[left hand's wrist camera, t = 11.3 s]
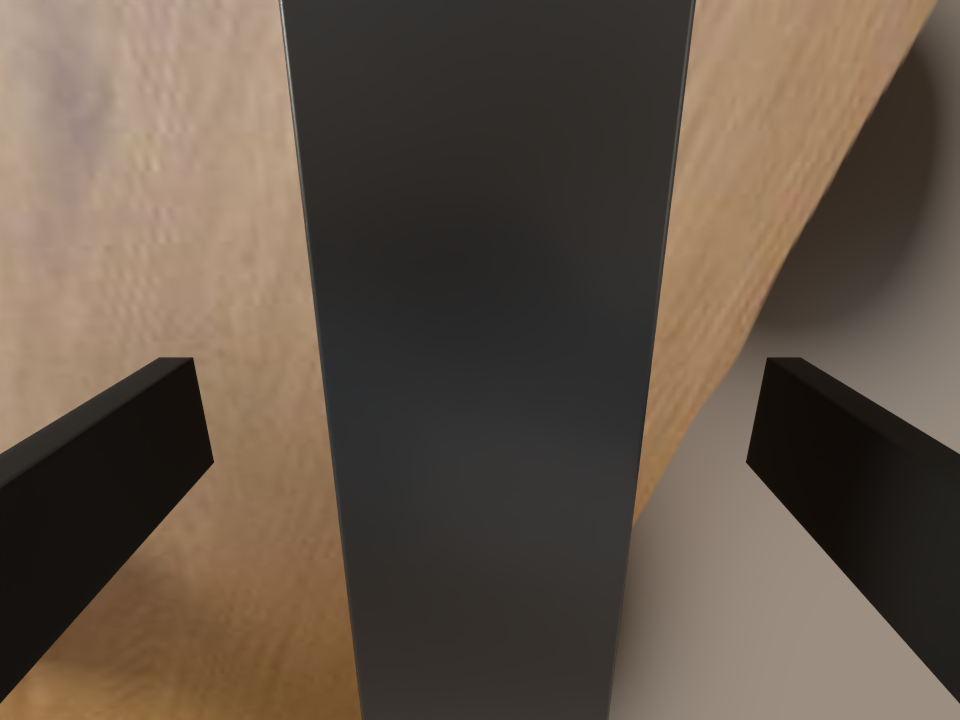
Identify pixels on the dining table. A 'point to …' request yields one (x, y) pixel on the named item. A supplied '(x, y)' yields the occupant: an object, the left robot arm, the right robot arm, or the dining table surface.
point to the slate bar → (486, 329)
